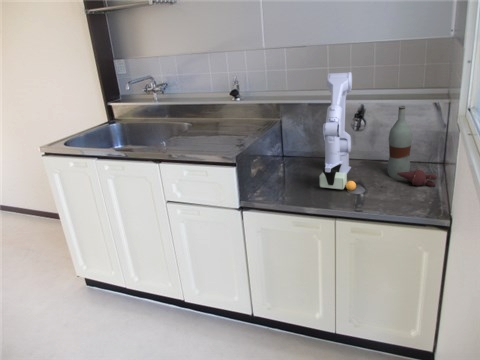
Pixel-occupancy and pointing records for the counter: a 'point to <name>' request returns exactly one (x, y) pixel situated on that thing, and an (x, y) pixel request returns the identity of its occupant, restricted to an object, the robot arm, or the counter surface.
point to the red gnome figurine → (418, 177)
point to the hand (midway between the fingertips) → (332, 181)
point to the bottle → (399, 146)
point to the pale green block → (338, 181)
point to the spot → (357, 190)
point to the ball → (350, 185)
